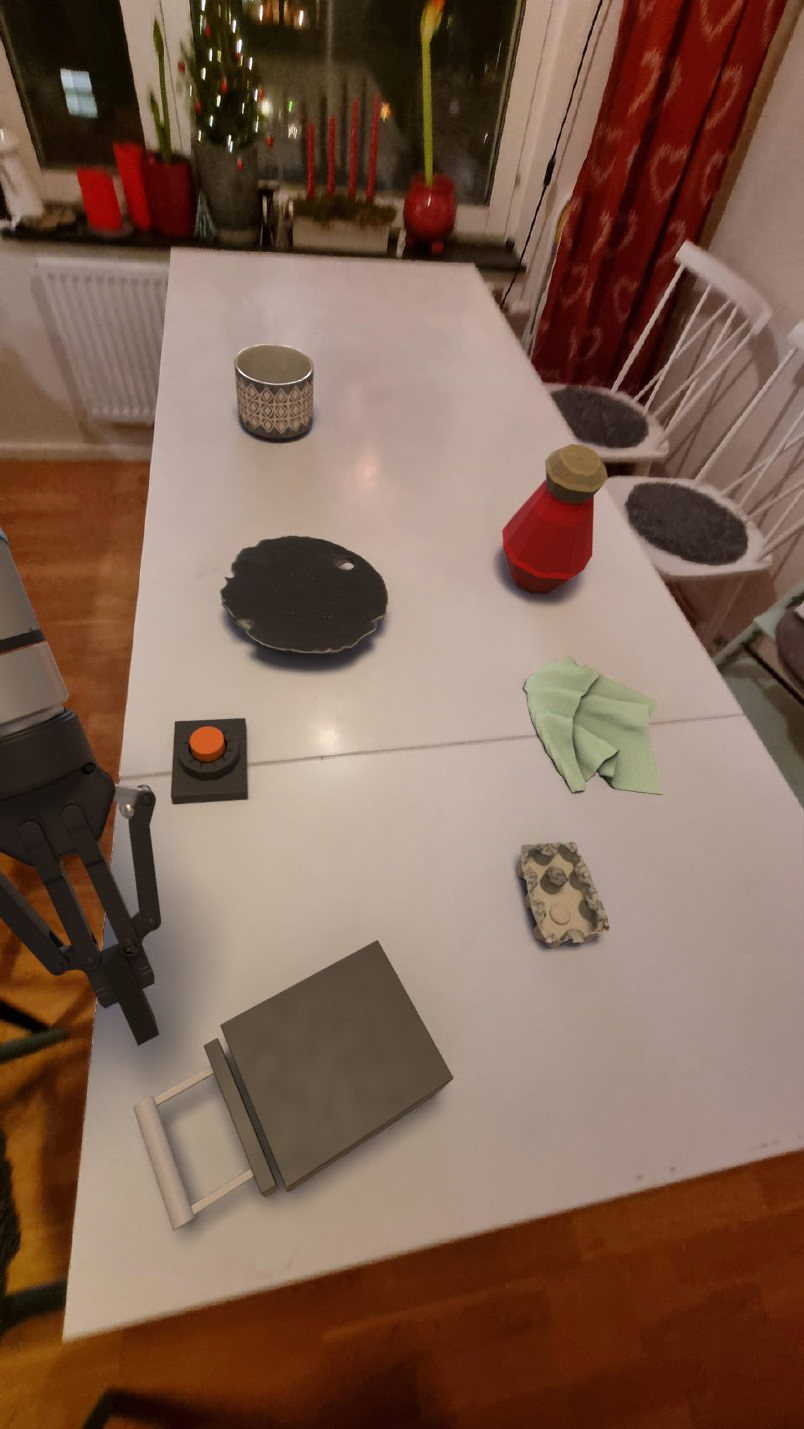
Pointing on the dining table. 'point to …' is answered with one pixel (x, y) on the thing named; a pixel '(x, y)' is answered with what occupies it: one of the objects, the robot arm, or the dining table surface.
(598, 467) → the bottle
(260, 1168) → the open sliding drawer
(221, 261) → the dining table surface
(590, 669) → the cloth
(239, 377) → the planter
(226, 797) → the control block
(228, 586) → the board
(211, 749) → the button
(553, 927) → the egg carton
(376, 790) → the dining table surface
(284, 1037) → the grey drawer box
